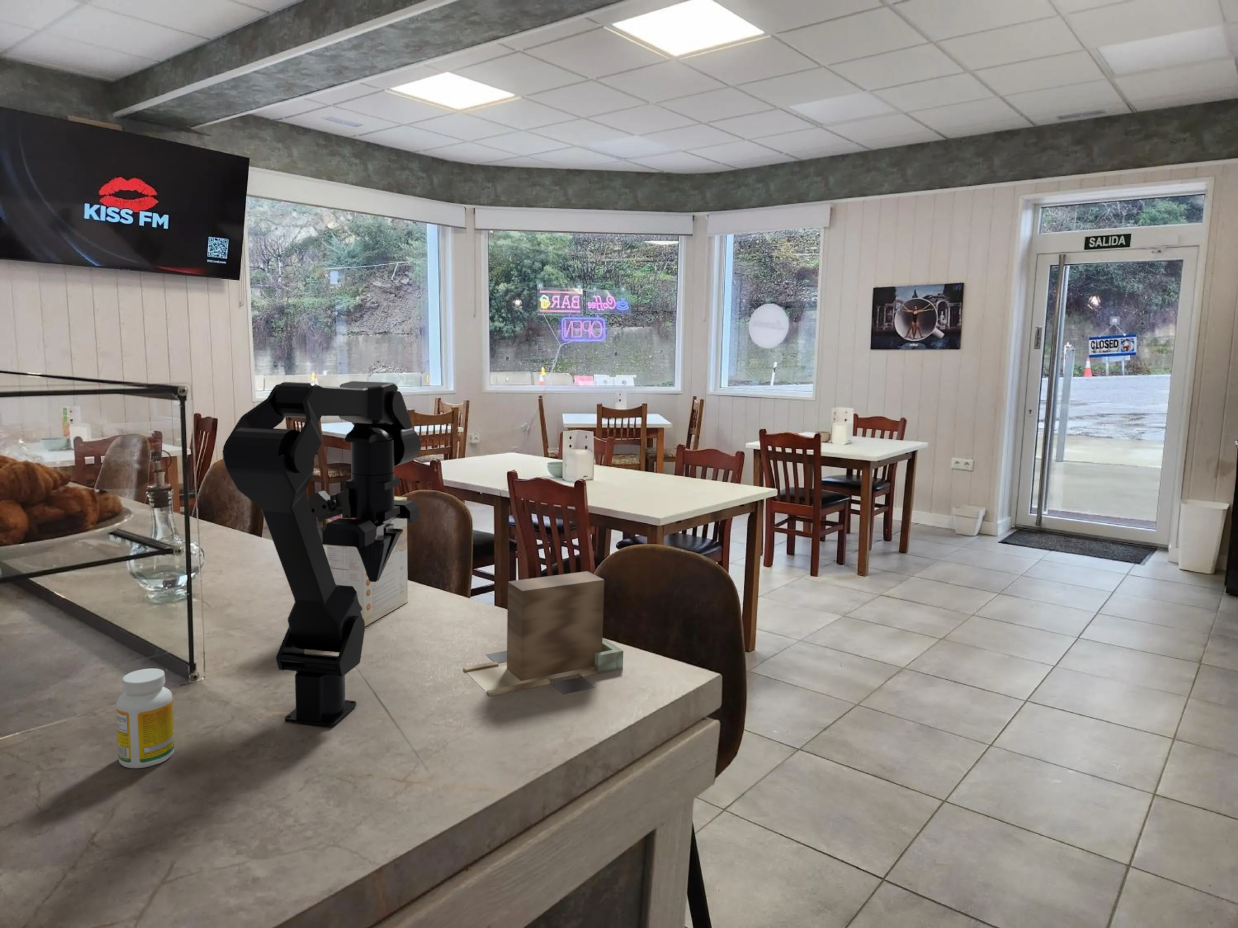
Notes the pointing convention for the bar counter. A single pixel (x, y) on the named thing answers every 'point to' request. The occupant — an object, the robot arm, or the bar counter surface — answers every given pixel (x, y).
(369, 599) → the coffeecake box
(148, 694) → the supplement bottle
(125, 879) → the bar counter surface
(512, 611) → the walnut block
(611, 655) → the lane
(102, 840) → the bar counter surface
